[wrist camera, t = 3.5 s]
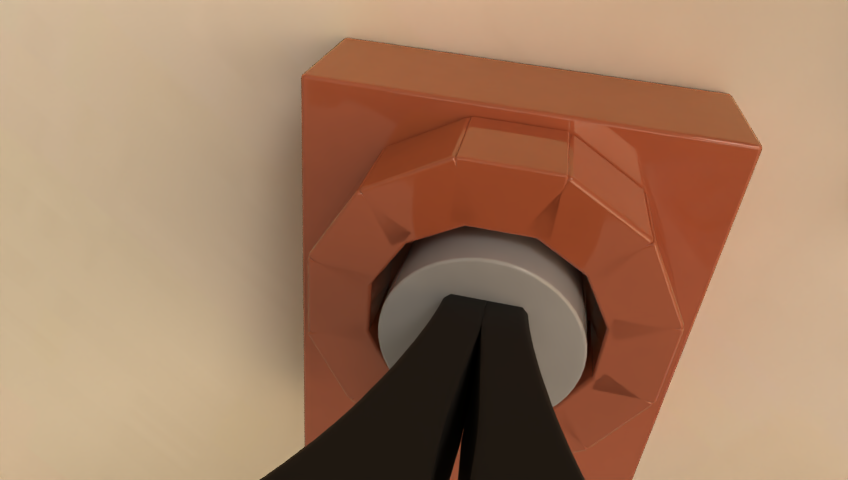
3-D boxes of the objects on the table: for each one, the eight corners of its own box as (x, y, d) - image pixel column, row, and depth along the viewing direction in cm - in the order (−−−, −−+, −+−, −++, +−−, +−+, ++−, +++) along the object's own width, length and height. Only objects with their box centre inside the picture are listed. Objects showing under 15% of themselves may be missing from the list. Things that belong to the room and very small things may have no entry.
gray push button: (565, 366, 14) (563, 442, 12) (396, 332, 14) (372, 401, 12) (605, 218, 12) (610, 282, 10) (409, 184, 12) (382, 240, 11)
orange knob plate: (611, 438, 18) (620, 592, 15) (335, 380, 19) (277, 510, 16) (732, 93, 13) (795, 196, 9) (344, 36, 14) (258, 108, 10)
